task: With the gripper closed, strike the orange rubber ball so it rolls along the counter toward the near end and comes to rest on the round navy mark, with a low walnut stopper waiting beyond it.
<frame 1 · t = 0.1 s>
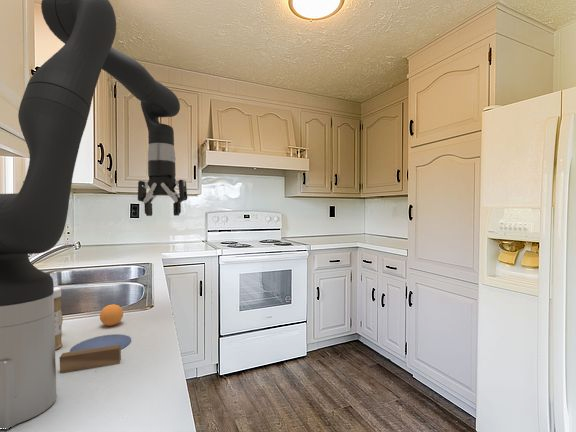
hand: (162, 215, 93), 29 cm above the counter, tool pointing down, fingers open, 8 cm apart
ball: (111, 314, 84), on the counter
lemon: (49, 338, 76), on the counter
sprinkles bottle: (50, 349, 70), on the counter
stopper wall: (91, 365, 62), on the counter
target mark: (101, 345, 71), on the counter
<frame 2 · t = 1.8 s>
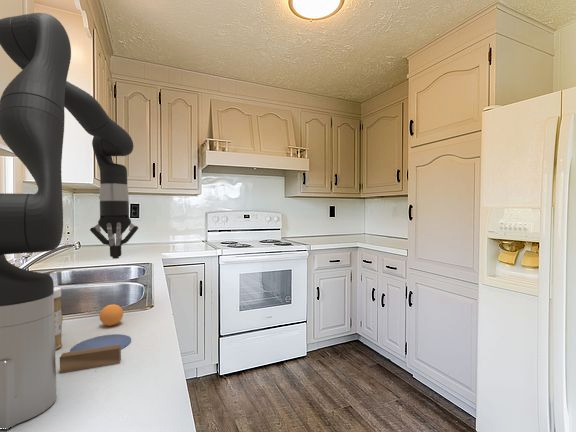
hand: (115, 258, 93), 17 cm above the counter, tool pointing down, fingers closed
nothing on the counter moved.
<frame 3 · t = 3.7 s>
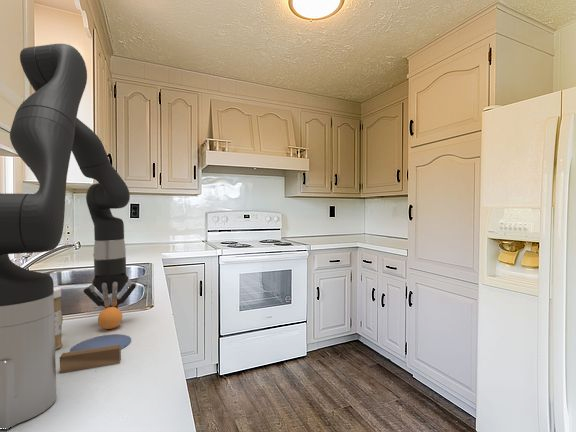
hand: (111, 319, 85), 1 cm above the counter, tool pointing down, fingers closed
ball: (110, 317, 82), on the counter, touching gripper
everything else where it was.
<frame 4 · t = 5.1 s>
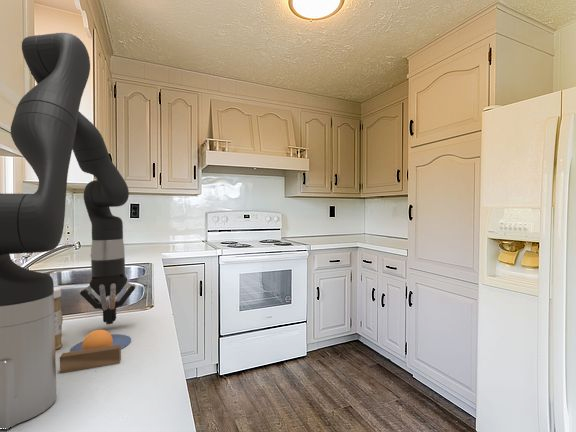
hand: (109, 323, 81), 2 cm above the counter, tool pointing down, fingers closed
ball: (97, 343, 66), on the counter
everything else where it was.
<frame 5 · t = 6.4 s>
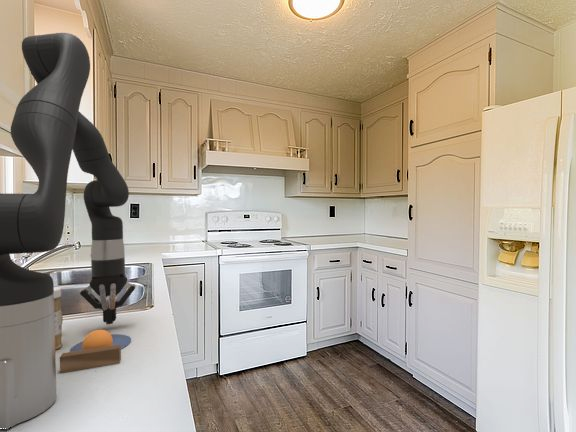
hand: (109, 323, 81), 2 cm above the counter, tool pointing down, fingers closed
nothing on the counter moved.
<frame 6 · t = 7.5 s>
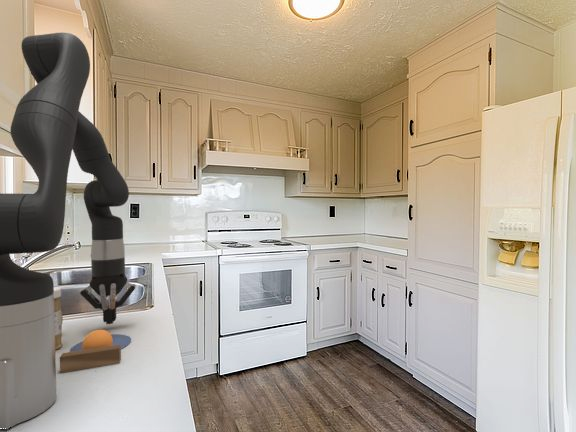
hand: (109, 323, 81), 2 cm above the counter, tool pointing down, fingers closed
nothing on the counter moved.
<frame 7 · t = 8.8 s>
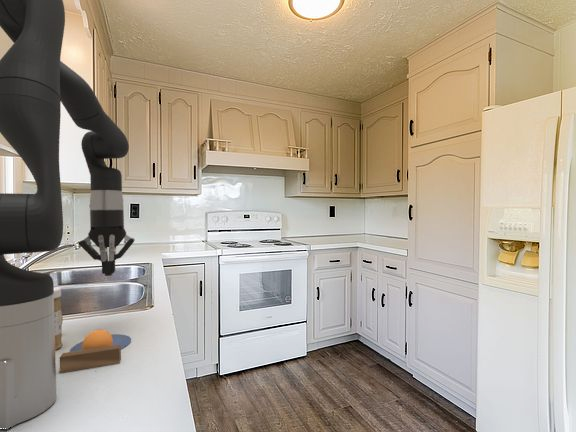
hand: (108, 275, 81), 14 cm above the counter, tool pointing down, fingers closed
nothing on the counter moved.
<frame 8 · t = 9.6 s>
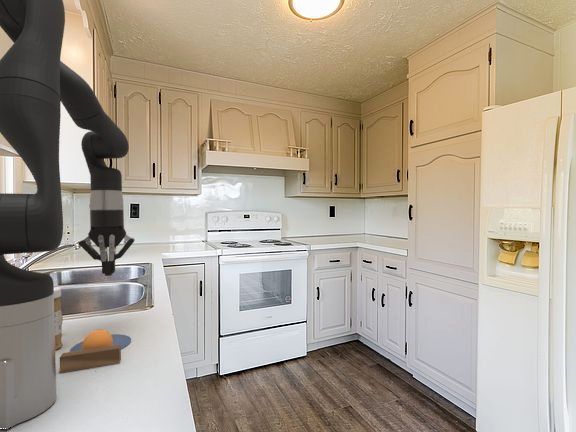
hand: (108, 275, 81), 14 cm above the counter, tool pointing down, fingers closed
nothing on the counter moved.
at the end: ball 6.0 cm from the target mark (horizontally); ball at rest at the end (0.0 cm/s); ball moved 20.0 cm from its start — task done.
